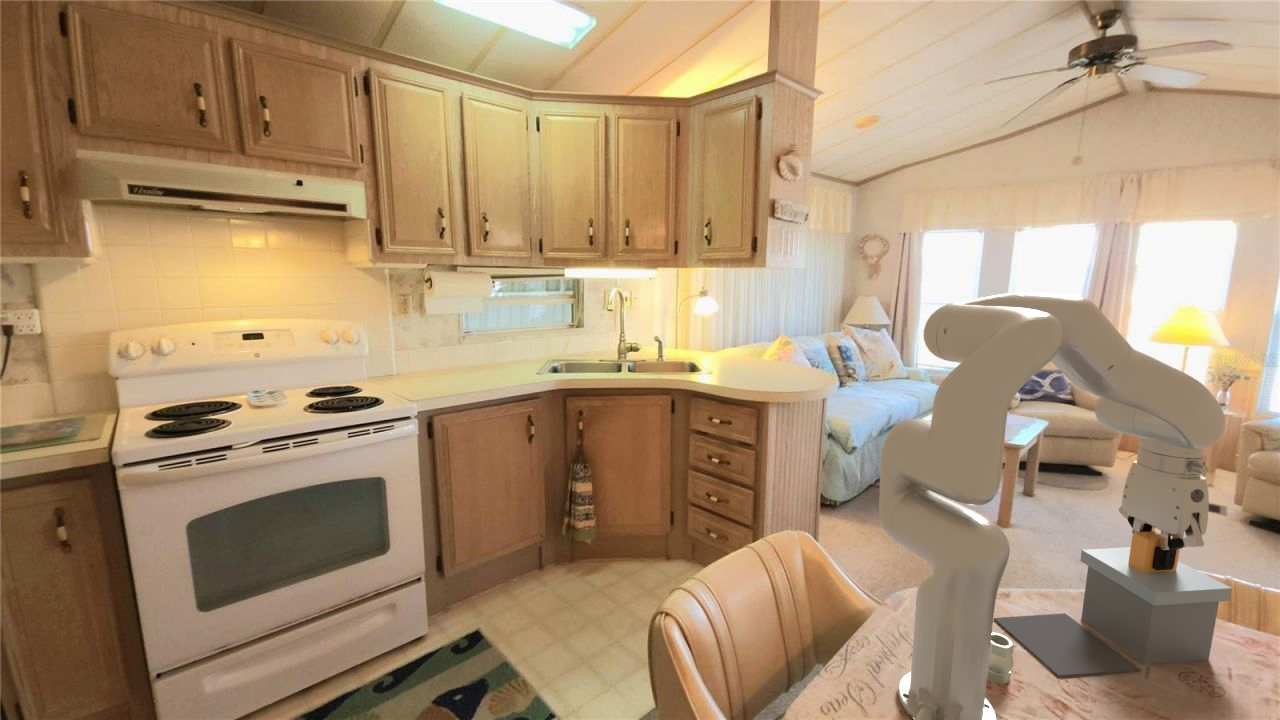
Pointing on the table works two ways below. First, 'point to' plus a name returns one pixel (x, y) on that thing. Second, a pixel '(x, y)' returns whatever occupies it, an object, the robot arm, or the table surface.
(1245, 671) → the table surface
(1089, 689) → the table surface
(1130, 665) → the mat
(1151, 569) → the lid
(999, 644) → the valve
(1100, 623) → the tub
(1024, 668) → the table surface
